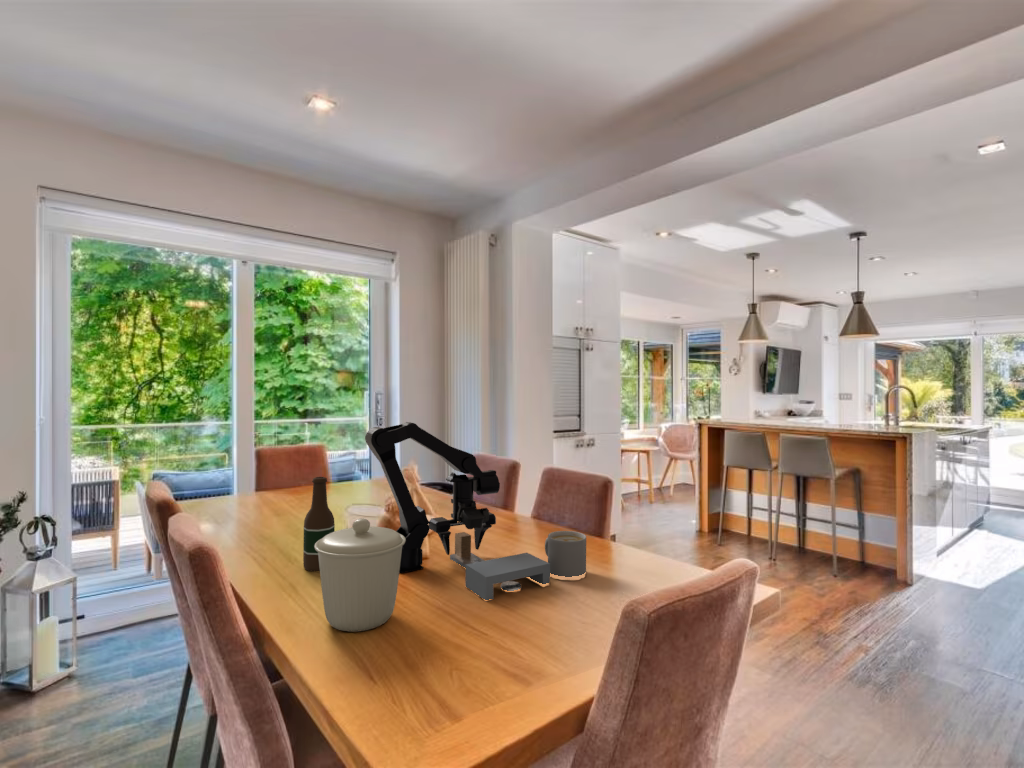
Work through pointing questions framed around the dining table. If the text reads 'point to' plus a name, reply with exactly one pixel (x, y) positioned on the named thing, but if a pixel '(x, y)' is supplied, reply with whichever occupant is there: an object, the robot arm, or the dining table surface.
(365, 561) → the canister
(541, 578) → the low shelf
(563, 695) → the dining table surface
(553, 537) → the coffee mug
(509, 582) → the steel disc
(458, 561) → the brown block on base
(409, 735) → the dining table surface
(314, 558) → the beer bottle
